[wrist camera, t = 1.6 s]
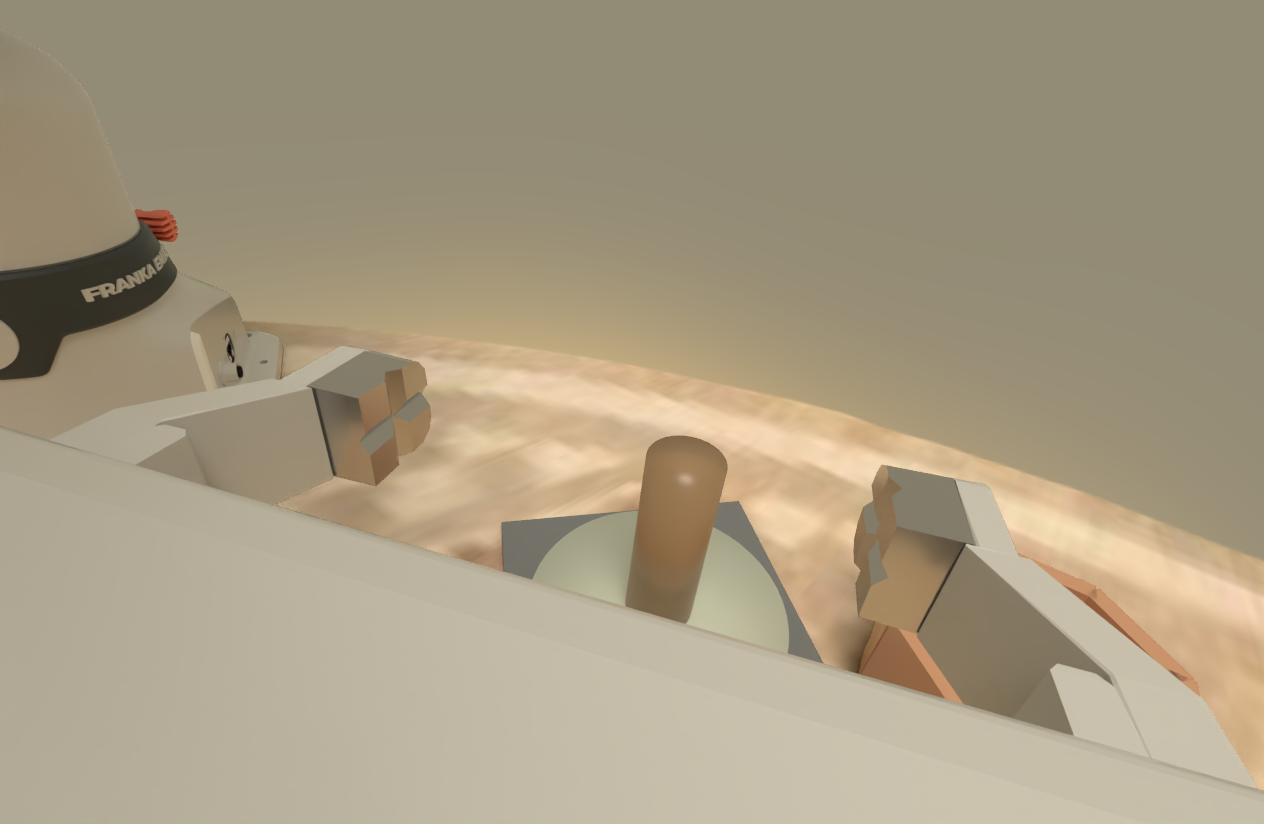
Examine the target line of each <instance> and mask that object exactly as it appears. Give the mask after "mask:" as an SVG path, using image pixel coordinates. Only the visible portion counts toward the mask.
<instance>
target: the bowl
mask: <svg viewBox="0 0 1264 824" xmlns="http://www.w3.org/2000/svg"><path fill="white" fill-rule="evenodd" d="M1018 555H1019V557H1023V558H1027V559H1030V558H1028V557H1026V556H1023V555H1021V554H1019V553H1018ZM1031 560H1032V561H1033V562H1035V563H1036V564H1037V565H1038V566H1040V567H1041V568H1042V569H1043V570H1044V571H1046V572H1047V573H1048V574H1049V575H1051V576H1052V577H1053V578H1054V579H1056V580H1057V581H1058V582H1059V583H1060V584H1062V585H1063V586H1064V587H1065V588H1067V589H1068V590H1069V591H1070V592H1071V593H1073V594H1074V595H1075V596H1076V597H1078V598H1079V599H1080V600H1081V601H1083V602H1084V603H1085V604H1086V605H1087V606H1089V607H1090V608H1091V609H1092V610H1094V611H1095V612H1096V613H1097V614H1099V615H1100V616H1101V617H1102V618H1103V619H1105V620H1106V621H1107V622H1108V623H1110V624H1111V625H1112V626H1113V627H1115V628H1116V629H1117V630H1118V631H1119V632H1121V633H1122V634H1123V635H1124V636H1126V637H1127V638H1128V639H1129V640H1131V641H1132V642H1133V643H1134V644H1135V645H1137V646H1138V647H1139V648H1140V649H1142V650H1143V651H1144V652H1145V653H1147V654H1148V655H1149V656H1150V657H1151V658H1153V659H1154V660H1155V661H1156V662H1158V663H1159V664H1160V665H1161V666H1163V667H1164V668H1165V669H1166V670H1167V671H1169V672H1170V673H1171V674H1172V675H1174V676H1175V677H1176V678H1177V679H1179V680H1180V681H1181V682H1182V683H1183V684H1185V685H1186V686H1187V687H1188V688H1190V689H1191V690H1192V691H1193V692H1194V693H1196V694H1197V695H1198V696H1199V697H1200V694H1199V690H1198V685H1197V682H1196V681H1193V679H1194V678H1193V677H1192V676H1191V675H1190V674H1189V673H1188V672H1187V671H1186V670H1185V669H1184V668H1183V667H1182V666H1181V665H1180V664H1178V663H1177V662H1176V661H1175V660H1174V659H1173V658H1172V657H1171V656H1170V655H1169V654H1168V653H1167V652H1166V651H1165V650H1164V649H1163V648H1162V647H1161V646H1160V645H1158V644H1157V643H1156V642H1155V641H1154V640H1153V639H1152V638H1151V637H1150V636H1149V635H1148V634H1147V633H1146V632H1145V631H1144V630H1143V629H1142V628H1141V627H1139V626H1138V625H1137V624H1136V623H1135V622H1134V621H1133V620H1132V619H1131V618H1130V617H1129V616H1128V615H1127V614H1126V613H1125V612H1124V611H1123V610H1122V609H1121V608H1119V607H1118V606H1117V605H1116V604H1115V603H1114V602H1113V601H1112V600H1111V599H1110V598H1109V597H1108V596H1107V595H1106V594H1105V593H1104V592H1103V591H1102V590H1100V589H1096V586H1094V585H1092V584H1089V583H1087V582H1085V581H1082V580H1080V579H1078V578H1075V577H1073V576H1070V575H1068V574H1066V573H1063V572H1061V571H1059V570H1056V569H1054V568H1052V567H1049V566H1047V565H1045V564H1042V563H1040V562H1038V561H1035V560H1033V559H1031ZM858 674H861V675H864V676H867V677H871V678H875V679H878V680H882V681H885V682H889V683H892V684H896V685H899V686H903V687H906V688H910V689H913V690H917V691H920V692H924V693H927V694H931V695H934V696H937V697H941V698H944V699H948V700H951V701H955V702H958V703H962V701H961V700H960V698H959V697H958V695H957V694H956V692H955V691H954V690H953V688H952V687H951V685H950V684H949V682H948V681H947V680H946V678H945V677H944V675H943V674H942V672H941V671H940V669H939V668H938V667H937V665H936V664H935V662H934V661H933V659H932V658H931V657H930V655H929V654H928V652H927V651H926V649H925V648H924V647H923V645H922V644H921V642H920V641H919V639H918V638H917V634H915V633H912V632H909V631H905V630H902V629H899V628H895V627H892V626H888V625H885V624H882V623H878V622H875V624H874V627H873V630H872V633H871V636H870V639H869V640H868V642H867V644H866V646H865V648H864V651H863V653H862V657H861V661H860V665H859V673H858ZM962 704H963V703H962Z"/></svg>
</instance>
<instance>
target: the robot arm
mask: <svg viewBox="0 0 1264 824" xmlns="http://www.w3.org/2000/svg"><path fill="white" fill-rule="evenodd" d="M169 214H170V212H169V211H167V210H156V211H142V210H137V209H136V210H134V208H133V206H132V203H131V201H130V198H129V195H128V193H127V190H126V188H125V186H124V183H123V180H122V177H121V175H120V172H119V170H118V167H117V165H116V162H115V159H114V157H113V154H112V152H111V149H110V147H109V144H108V141H107V139H106V136H105V134H104V131H103V128H102V126H101V123H100V121H99V118H98V116H97V113H96V111H95V108H94V105H93V103H92V101H91V99H90V97H89V96H88V94H87V93H86V91H85V90H84V88H83V87H82V86H81V85H80V83H79V82H78V81H77V80H76V79H75V78H74V77H73V75H72V74H71V73H70V72H69V71H68V70H67V69H66V68H64V67H63V66H62V65H61V64H60V63H59V62H58V61H56V60H55V59H54V58H52V57H51V56H50V55H48V54H47V53H46V52H44V51H43V50H41V49H39V48H38V47H36V46H35V45H33V44H31V43H29V42H28V41H26V40H24V39H22V38H20V37H18V36H16V35H15V34H13V33H11V32H8V31H6V30H4V29H2V28H0V824H1264V791H1263V790H1260V789H1258V787H1257V785H1256V784H1255V782H1254V780H1253V779H1252V777H1251V776H1250V774H1249V772H1248V771H1247V769H1246V767H1245V766H1244V764H1243V762H1242V761H1241V759H1240V758H1239V756H1238V754H1237V753H1236V751H1235V749H1234V748H1233V746H1232V744H1231V743H1230V741H1229V740H1228V738H1227V736H1226V735H1225V733H1224V731H1223V730H1222V728H1221V727H1220V725H1219V723H1218V722H1217V720H1216V718H1215V717H1214V715H1213V713H1212V712H1211V710H1210V709H1209V707H1208V705H1207V704H1206V702H1205V701H1204V700H1203V699H1202V698H1201V697H1199V696H1198V695H1197V694H1196V693H1194V692H1193V691H1192V690H1191V689H1190V688H1188V687H1187V686H1186V685H1185V684H1183V683H1182V682H1181V681H1180V680H1179V679H1177V678H1176V677H1175V676H1174V675H1172V674H1171V673H1170V672H1169V671H1167V670H1166V669H1165V668H1164V667H1163V666H1161V665H1160V664H1159V663H1158V662H1156V661H1155V660H1154V659H1153V658H1151V657H1150V656H1149V655H1148V654H1147V653H1145V652H1144V651H1143V650H1142V649H1140V648H1139V647H1138V646H1137V645H1135V644H1134V643H1133V642H1132V641H1131V640H1129V639H1128V638H1127V637H1126V636H1124V635H1123V634H1122V633H1121V632H1119V631H1118V630H1117V629H1116V628H1115V627H1113V626H1112V625H1111V624H1110V623H1108V622H1107V621H1106V620H1105V619H1103V618H1102V617H1101V616H1100V615H1099V614H1097V613H1096V612H1095V611H1094V610H1092V609H1091V608H1090V607H1089V606H1087V605H1086V604H1085V603H1084V602H1083V601H1081V600H1080V599H1079V598H1078V597H1076V596H1075V595H1074V594H1073V593H1071V592H1070V591H1069V590H1068V589H1067V588H1065V587H1064V586H1063V585H1062V584H1060V583H1059V582H1058V581H1057V580H1056V579H1054V578H1053V577H1052V576H1051V575H1049V574H1048V573H1047V572H1046V571H1044V570H1043V569H1042V568H1041V567H1040V566H1038V565H1037V564H1036V563H1035V562H1033V561H1032V560H1031V559H1027V558H1023V557H1019V555H1018V552H1017V550H1016V548H1015V545H1014V543H1013V541H1012V538H1011V536H1010V533H1009V531H1008V529H1007V526H1006V524H1005V522H1004V519H1003V517H1002V515H1001V512H1000V510H999V508H998V505H997V503H996V500H995V498H994V496H993V493H992V491H991V489H990V488H989V487H988V486H987V485H985V484H981V483H976V482H970V481H965V480H959V479H954V478H948V477H943V476H938V475H933V474H928V473H923V472H917V471H912V470H907V469H902V468H897V467H892V466H887V465H881V467H880V468H879V470H878V472H877V474H876V476H875V479H874V481H873V484H872V492H873V501H872V502H871V503H869V504H867V505H866V506H864V507H863V510H862V512H861V515H860V518H859V521H858V524H857V529H856V534H855V538H854V563H855V564H856V565H857V567H858V568H859V569H860V570H861V571H860V574H859V576H858V579H857V581H856V595H857V608H858V617H861V618H865V619H868V620H872V621H875V622H878V623H882V624H885V625H888V626H892V627H895V628H899V629H902V630H905V631H909V632H912V633H915V634H917V638H918V639H919V641H920V642H921V644H922V645H923V647H924V648H925V649H926V651H927V652H928V654H929V655H930V657H931V658H932V659H933V661H934V662H935V664H936V665H937V667H938V668H939V669H940V671H941V672H942V674H943V675H944V677H945V678H946V680H947V681H948V682H949V684H950V685H951V687H952V688H953V690H954V691H955V692H956V694H957V695H958V697H959V698H960V700H961V701H962V703H963V704H962V703H958V702H955V701H951V700H948V699H944V698H941V697H937V696H934V695H931V694H927V693H924V692H920V691H917V690H913V689H910V688H906V687H903V686H899V685H896V684H892V683H889V682H885V681H882V680H878V679H875V678H871V677H867V676H864V675H861V674H857V673H854V672H850V671H847V670H843V669H840V668H836V667H833V666H829V665H826V664H823V663H819V662H816V661H812V660H809V659H805V658H802V657H798V656H795V655H791V654H788V653H784V652H781V651H778V650H774V649H771V648H767V647H764V646H760V645H757V644H753V643H750V642H746V641H743V640H740V639H736V638H733V637H729V636H726V635H722V634H719V633H715V632H712V631H708V630H705V629H701V628H698V627H695V626H691V625H688V624H684V623H681V622H677V621H674V620H670V619H667V618H663V617H660V616H657V615H653V614H650V613H646V612H643V611H639V610H636V609H632V608H629V607H625V606H622V605H618V604H615V603H612V602H608V601H605V600H601V599H598V598H594V597H591V596H587V595H584V594H580V593H577V592H573V591H570V590H566V589H563V588H560V587H556V586H553V585H549V584H546V583H542V582H539V581H535V580H532V579H528V578H525V577H521V576H518V575H514V574H511V573H507V572H504V571H500V570H497V569H493V568H490V567H486V566H483V565H479V564H476V563H472V562H469V561H465V560H462V559H459V558H455V557H452V556H448V555H445V554H441V553H438V552H434V551H431V550H427V549H424V548H420V547H417V546H414V545H410V544H407V543H403V542H400V541H396V540H393V539H389V538H386V537H382V536H379V535H376V534H372V533H369V532H365V531H362V530H358V529H355V528H351V527H348V526H344V525H341V524H337V523H334V522H331V521H327V520H324V519H320V518H317V517H313V516H310V515H306V514H303V513H299V512H296V511H292V510H289V509H286V508H282V507H279V506H275V505H273V504H276V503H278V502H280V501H283V500H285V499H287V498H290V497H292V496H294V495H296V494H299V493H301V492H303V491H306V490H308V489H310V488H313V487H315V486H317V485H320V484H322V483H324V482H326V481H329V480H331V479H333V478H334V476H335V477H339V478H344V479H348V480H352V481H356V482H360V483H365V484H369V485H373V486H377V485H378V484H379V483H380V482H381V481H382V480H383V479H384V478H385V477H386V476H388V475H389V474H390V473H391V472H392V471H393V470H394V469H395V468H396V467H397V466H398V465H399V456H401V455H404V454H407V453H410V452H413V451H415V450H416V449H417V448H418V447H419V446H420V445H421V444H422V443H423V441H424V439H425V437H426V435H427V433H428V431H429V428H430V421H431V412H430V405H429V403H428V402H427V401H426V399H425V398H424V396H423V395H422V394H421V393H422V391H423V390H424V388H425V387H426V386H427V380H426V374H425V368H424V367H423V366H422V365H421V364H420V363H419V362H416V361H412V360H408V359H403V358H399V357H395V356H391V355H387V354H383V353H379V352H374V351H370V350H367V349H362V348H357V347H352V346H340V347H338V348H336V349H335V350H333V351H331V352H329V353H327V354H326V355H324V356H322V357H320V358H318V359H317V360H315V361H313V362H311V363H309V364H307V365H306V366H304V367H302V368H300V369H298V370H297V371H295V372H293V373H291V374H289V375H288V376H286V377H284V378H282V379H280V377H281V366H282V356H283V345H282V343H281V340H280V338H279V337H278V336H276V335H273V334H270V333H266V332H262V331H257V330H250V329H245V327H244V324H243V321H242V318H241V316H240V313H239V311H238V308H237V305H236V303H235V301H234V299H233V298H232V297H231V296H230V295H229V294H228V293H227V292H225V291H223V290H221V289H219V288H217V287H214V286H212V285H209V284H206V283H204V282H201V281H199V280H196V279H194V278H191V277H189V276H187V275H185V274H182V273H180V272H178V271H177V269H176V267H175V265H174V264H173V262H172V261H171V259H170V258H169V256H168V254H167V253H168V252H167V251H166V249H165V247H164V246H163V244H161V243H159V241H158V240H160V241H169V242H173V241H175V240H176V238H177V235H178V233H176V232H177V230H178V228H177V226H175V225H176V221H175V220H173V218H174V217H173V215H169Z"/></svg>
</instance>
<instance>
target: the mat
mask: <svg viewBox="0 0 1264 824" xmlns="http://www.w3.org/2000/svg"><path fill="white" fill-rule="evenodd" d="M634 511H638V510H634ZM623 512H628V511H623ZM615 513H621V512H612V513H600V514H589V515H578V516H566V517H555V518H544V519H533V520H521V521H510V522H502V540H503V560H504V572H507V573H511V574H514V575H518V576H521V577H525V578H528V579H533V576H534V574H535V572H536V570H537V568H538V566H539V564H540V563H541V561H542V560H543V558H544V557H545V556H546V554H547V553H548V552H549V551H550V549H551V548H552V547H553V546H554V545H555V544H556V543H557V542H558V541H559V540H561V539H562V538H563V537H564V536H565V535H567V534H568V533H570V532H571V531H573V530H574V529H576V528H577V527H579V526H581V525H583V524H585V523H587V522H589V521H592V520H595V519H597V518H600V517H603V516H607V515H611V514H615ZM713 527H714V528H716V529H718V530H720V531H721V532H723V533H725V534H727V535H728V536H730V537H731V538H732V539H734V540H735V541H737V542H738V543H740V544H741V545H742V546H743V547H744V548H745V549H747V550H748V551H749V552H750V553H751V554H752V555H753V556H754V557H755V558H756V559H757V560H758V561H759V562H760V564H761V565H762V566H763V567H764V569H765V570H766V571H767V573H768V574H769V575H770V577H771V579H772V580H773V582H774V584H775V585H776V587H777V589H778V591H779V594H780V596H781V598H782V601H783V604H784V607H785V611H786V614H787V620H788V627H789V648H788V654H791V655H795V656H798V657H802V658H805V659H809V660H812V661H816V662H819V663H823V662H822V660H821V658H820V656H819V654H818V652H817V650H816V648H815V647H814V645H813V643H812V641H811V639H810V637H809V635H808V633H807V631H806V629H805V627H804V625H803V624H802V622H801V620H800V618H799V616H798V614H797V612H796V610H795V608H794V606H793V604H792V602H791V601H790V599H789V597H788V595H787V593H786V591H785V589H784V587H783V585H782V583H781V581H780V579H779V578H778V576H777V574H776V572H775V570H774V568H773V566H772V564H771V562H770V560H769V558H768V556H767V555H766V553H765V551H764V549H763V547H762V545H761V543H760V541H759V539H758V537H757V535H756V533H755V532H754V530H753V528H752V526H751V524H750V522H749V520H748V518H747V516H746V514H745V512H744V510H743V509H742V507H741V505H740V503H739V501H736V502H724V503H719V505H718V509H717V513H716V517H715V521H714V525H713Z"/></svg>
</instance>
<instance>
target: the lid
mask: <svg viewBox="0 0 1264 824" xmlns="http://www.w3.org/2000/svg"><path fill="white" fill-rule="evenodd" d="M726 473H727V461H726V459H725V457H724V456H723V454H722V453H721V452H720V451H719V450H718V449H717V448H716V447H714V446H713V445H711V444H709V443H708V442H705V441H703V440H701V439H697V438H694V437H689V436H670V437H665V438H662V439H660V440H657V441H656V442H654V443H653V444H652V445H651V446H650V447H649V449H648V451H647V454H646V461H645V468H644V475H643V481H642V488H641V495H640V502H639V509H638V511H628V512H621V513H615V514H611V515H607V516H603V517H600V518H597V519H595V520H592V521H589V522H587V523H585V524H583V525H581V526H579V527H577V528H576V529H574V530H573V531H571V532H570V533H568V534H567V535H565V536H564V537H563V538H562V539H561V540H559V541H558V542H557V543H556V544H555V545H554V546H553V547H552V548H551V549H550V551H549V552H548V553H547V554H546V556H545V557H544V558H543V560H542V561H541V563H540V564H539V566H538V568H537V570H536V572H535V574H534V576H533V579H532V580H535V581H539V582H542V583H546V584H549V585H553V586H556V587H560V588H563V589H566V590H570V591H573V592H577V593H580V594H584V595H587V596H591V597H594V598H598V599H601V600H605V601H608V602H612V603H615V604H618V605H622V606H625V607H629V608H632V609H636V610H639V611H643V612H646V613H650V614H653V615H657V616H660V617H663V618H667V619H670V620H674V621H677V622H681V623H684V624H688V625H691V626H695V627H698V628H701V629H705V630H708V631H712V632H715V633H719V634H722V635H726V636H729V637H733V638H736V639H740V640H743V641H746V642H750V643H753V644H757V645H760V646H764V647H767V648H771V649H774V650H778V651H781V652H784V653H788V648H789V627H788V620H787V614H786V611H785V607H784V604H783V601H782V598H781V596H780V594H779V591H778V589H777V587H776V585H775V584H774V582H773V580H772V579H771V577H770V575H769V574H768V573H767V571H766V570H765V569H764V567H763V566H762V565H761V564H760V562H759V561H758V560H757V559H756V558H755V557H754V556H753V555H752V554H751V553H750V552H749V551H748V550H747V549H745V548H744V547H743V546H742V545H741V544H740V543H738V542H737V541H735V540H734V539H732V538H731V537H730V536H728V535H727V534H725V533H723V532H721V531H720V530H718V529H716V528H714V527H713V525H714V521H715V517H716V513H717V509H718V505H719V501H720V497H721V493H722V489H723V485H724V481H725V477H726Z"/></svg>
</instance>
